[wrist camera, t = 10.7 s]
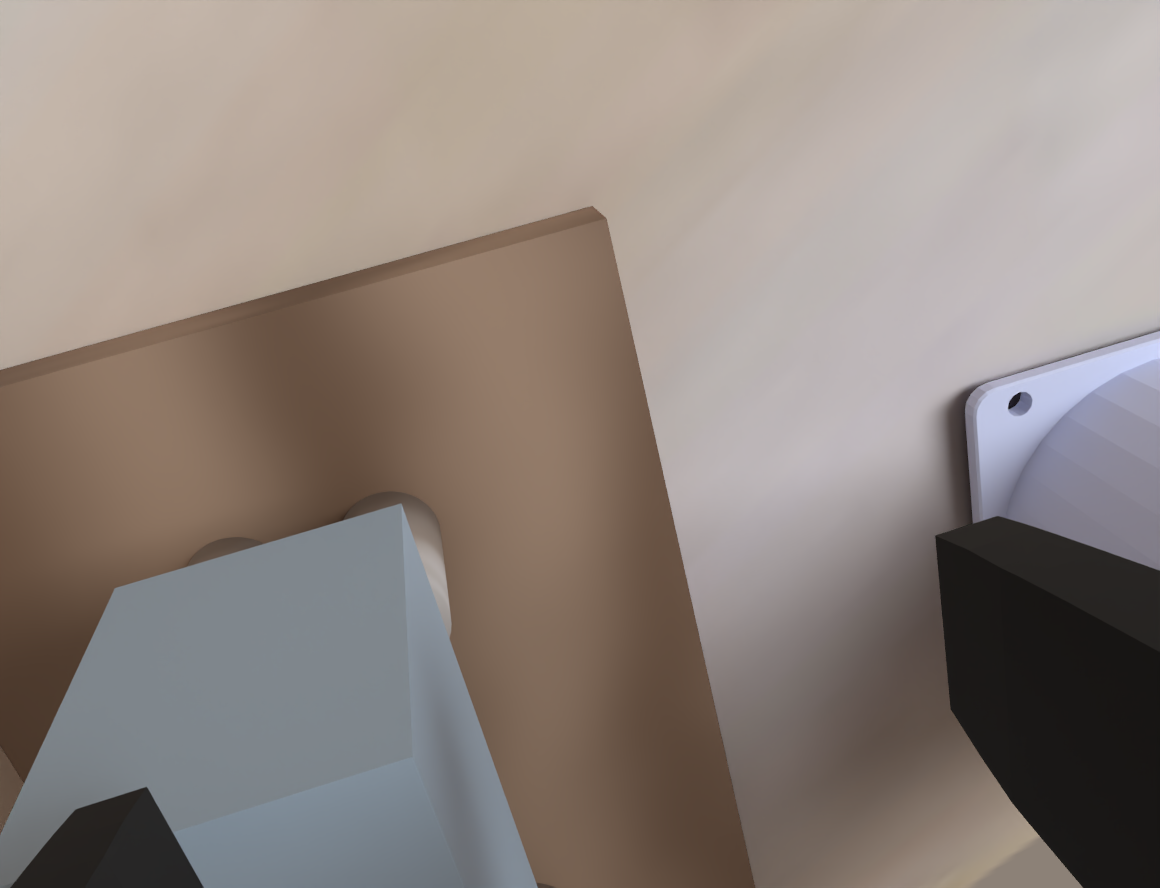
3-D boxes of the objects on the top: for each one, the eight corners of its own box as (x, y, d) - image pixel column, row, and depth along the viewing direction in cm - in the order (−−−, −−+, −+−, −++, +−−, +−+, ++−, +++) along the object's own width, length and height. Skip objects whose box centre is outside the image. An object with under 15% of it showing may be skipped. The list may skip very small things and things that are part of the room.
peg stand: (592, 205, 18) (651, 257, 14) (756, 932, 26) (823, 1091, 22) (-154, 412, 17) (-313, 529, 13) (259, 1099, 25) (238, 1297, 21)
